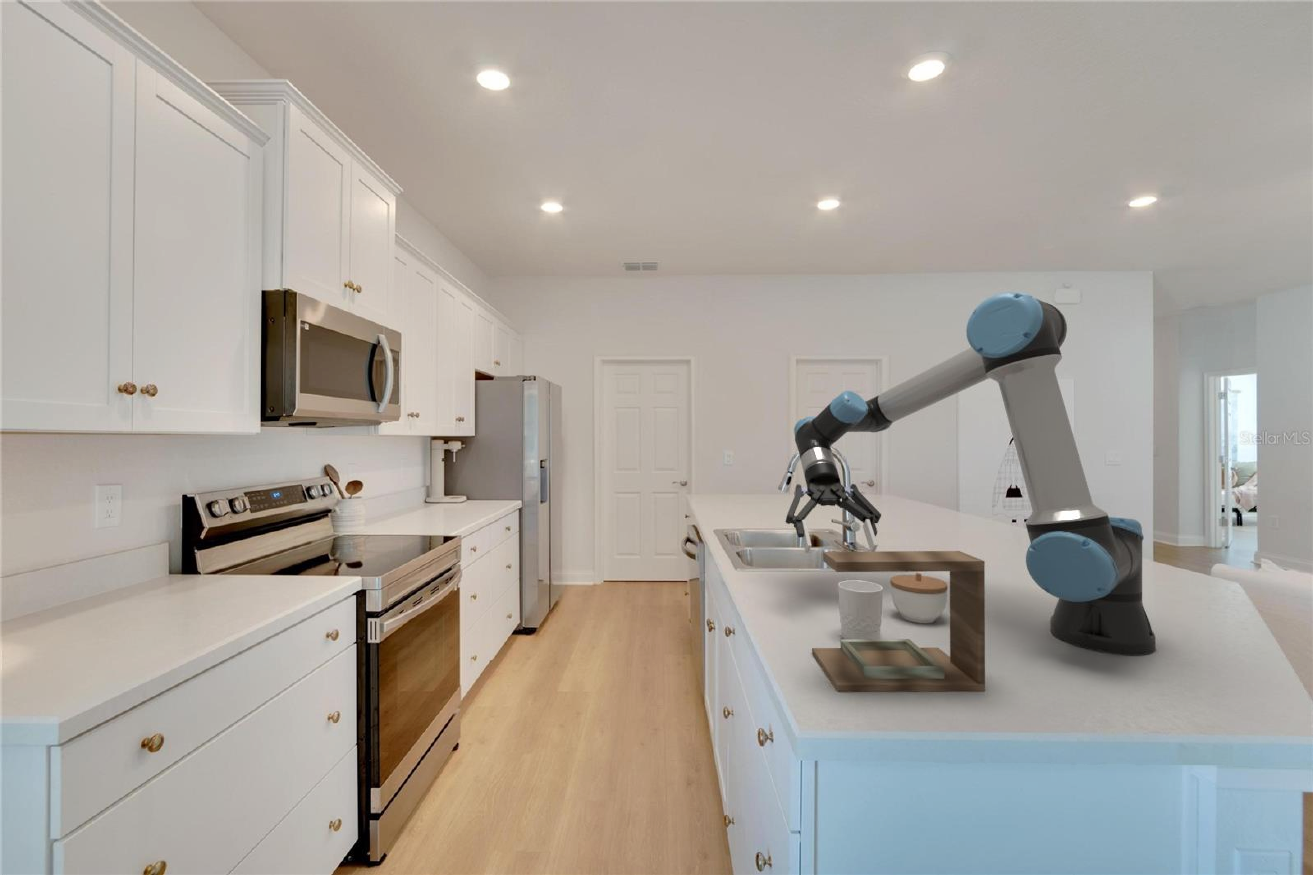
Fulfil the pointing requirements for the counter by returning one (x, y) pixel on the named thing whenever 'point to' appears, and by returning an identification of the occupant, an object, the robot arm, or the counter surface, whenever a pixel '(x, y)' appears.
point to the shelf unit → (901, 658)
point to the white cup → (860, 609)
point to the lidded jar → (919, 597)
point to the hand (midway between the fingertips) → (841, 549)
